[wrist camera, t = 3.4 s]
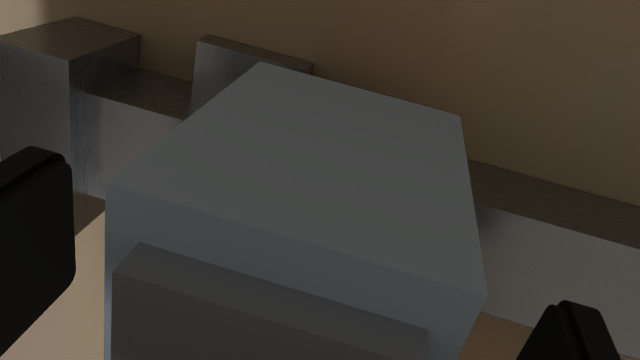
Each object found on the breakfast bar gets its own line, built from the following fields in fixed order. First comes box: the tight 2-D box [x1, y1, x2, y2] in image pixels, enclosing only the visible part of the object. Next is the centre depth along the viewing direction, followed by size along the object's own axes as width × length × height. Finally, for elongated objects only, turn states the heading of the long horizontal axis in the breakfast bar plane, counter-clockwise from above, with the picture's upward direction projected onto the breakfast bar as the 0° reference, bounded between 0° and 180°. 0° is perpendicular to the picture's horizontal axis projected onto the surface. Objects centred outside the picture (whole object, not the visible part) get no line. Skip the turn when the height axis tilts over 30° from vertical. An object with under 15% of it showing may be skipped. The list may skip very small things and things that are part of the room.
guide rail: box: [0, 17, 640, 360], centre depth 13 cm, size 27×6×3 cm, turn 78°
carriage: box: [104, 61, 488, 360], centre depth 10 cm, size 4×7×8 cm, turn 168°
